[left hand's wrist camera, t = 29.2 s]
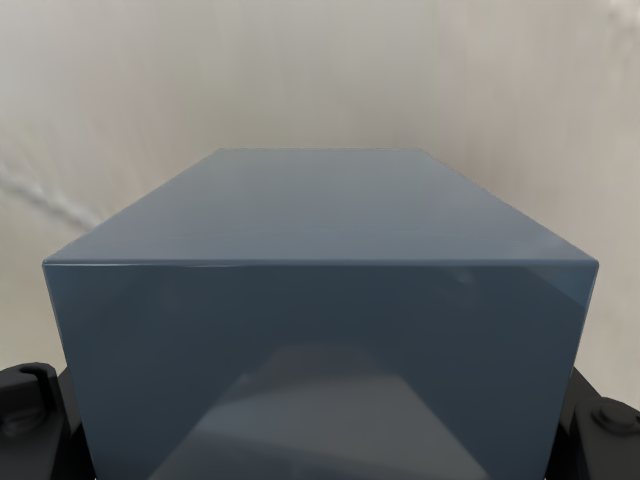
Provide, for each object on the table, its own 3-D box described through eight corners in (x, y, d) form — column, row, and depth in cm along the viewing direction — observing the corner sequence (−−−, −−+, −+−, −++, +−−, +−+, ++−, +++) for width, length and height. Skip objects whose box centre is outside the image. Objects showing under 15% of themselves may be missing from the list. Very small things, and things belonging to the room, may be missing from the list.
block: (404, 348, 18) (502, 649, 9) (235, 347, 18) (137, 649, 9) (422, 148, 15) (603, 260, 5) (218, 148, 15) (37, 260, 5)
